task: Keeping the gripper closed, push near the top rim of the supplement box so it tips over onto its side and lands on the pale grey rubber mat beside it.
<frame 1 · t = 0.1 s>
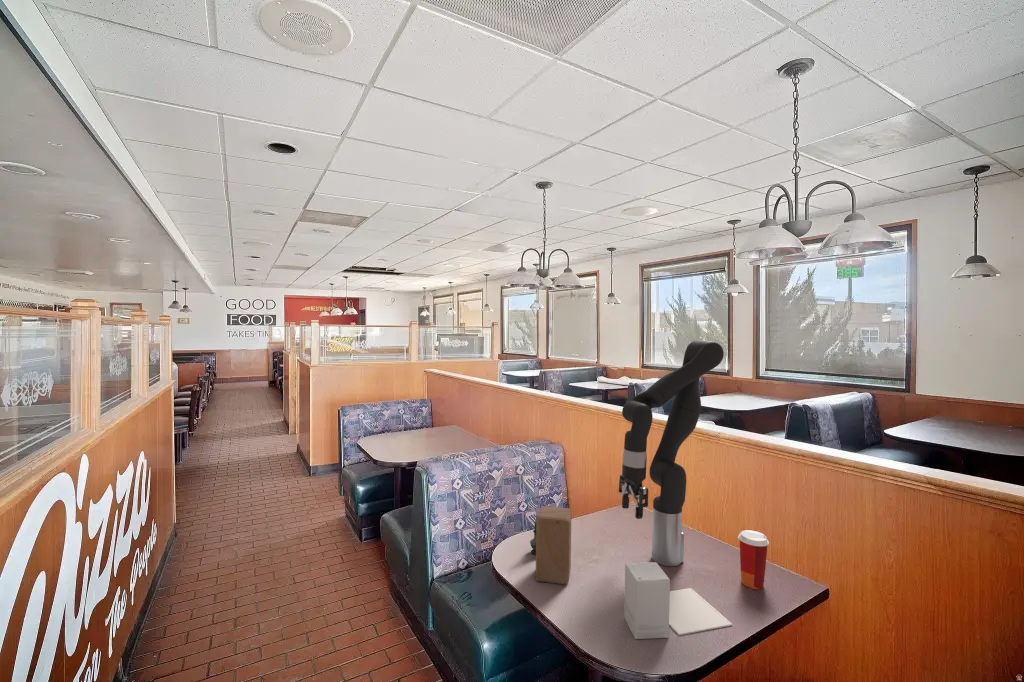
hand: (631, 512, 149), 17 cm above the table, tool pointing down, fingers open, 8 cm apart
supplement box: (645, 628, 119), on the table
mat: (685, 610, 126), on the table
wooden block: (553, 576, 143), on the table
salt shaker: (538, 553, 158), on the table
coffee cup: (751, 584, 140), on the table
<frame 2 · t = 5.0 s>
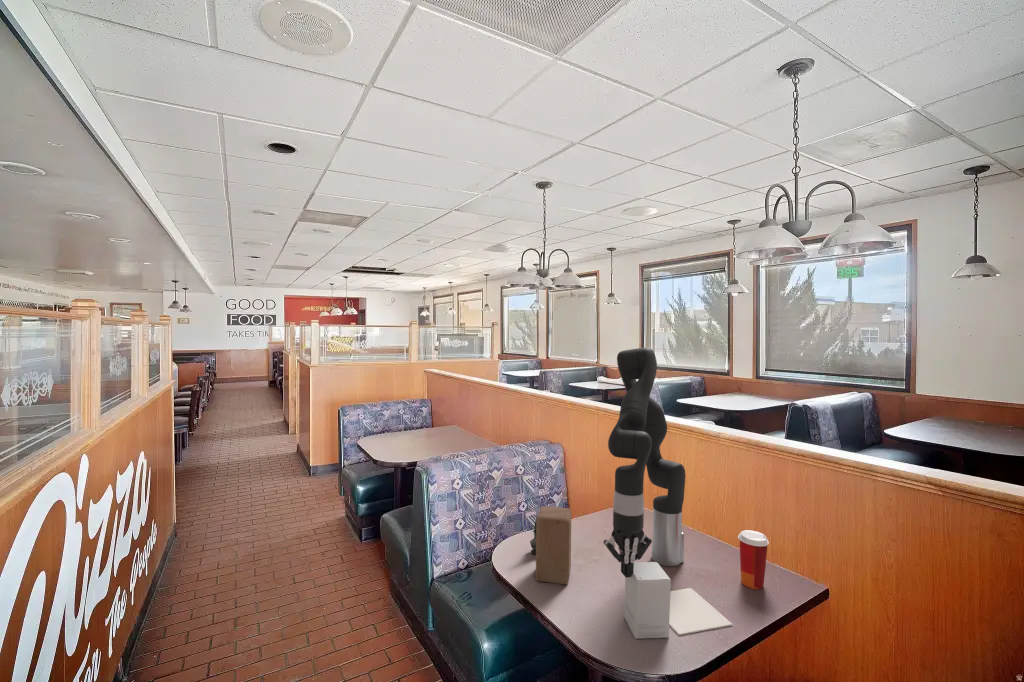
hand: (626, 575, 117), 14 cm above the table, tool pointing down, fingers closed
supplement box: (645, 628, 119), on the table, touching gripper
everything else where it was.
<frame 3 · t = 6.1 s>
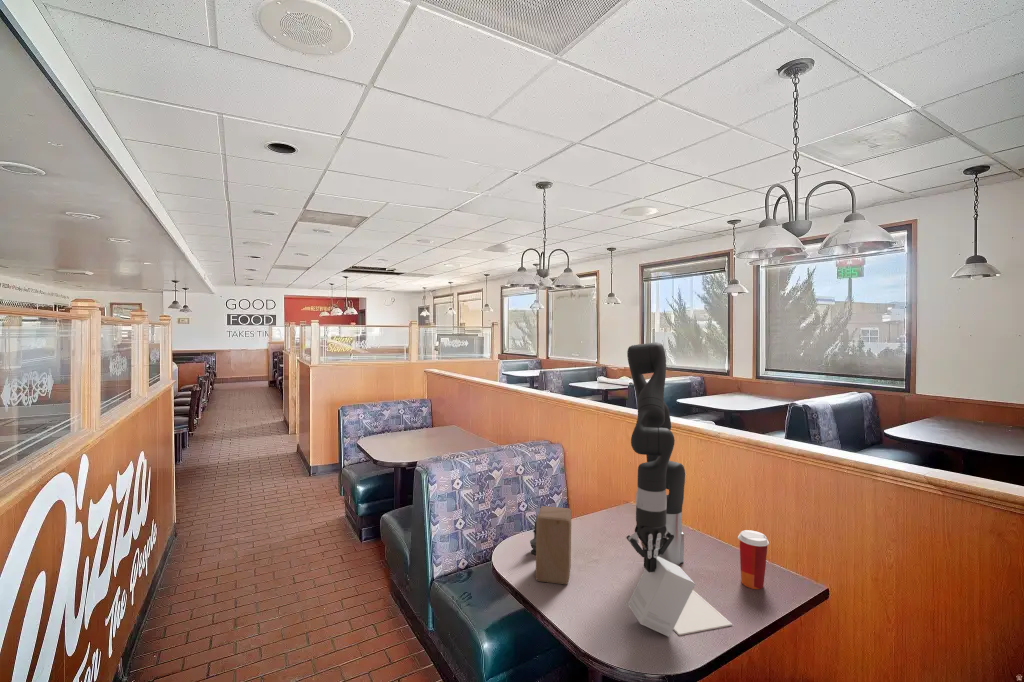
hand: (649, 570, 119), 15 cm above the table, tool pointing down, fingers closed
supplement box: (647, 620, 119), point 2 cm above the table, touching gripper
everything else where it was.
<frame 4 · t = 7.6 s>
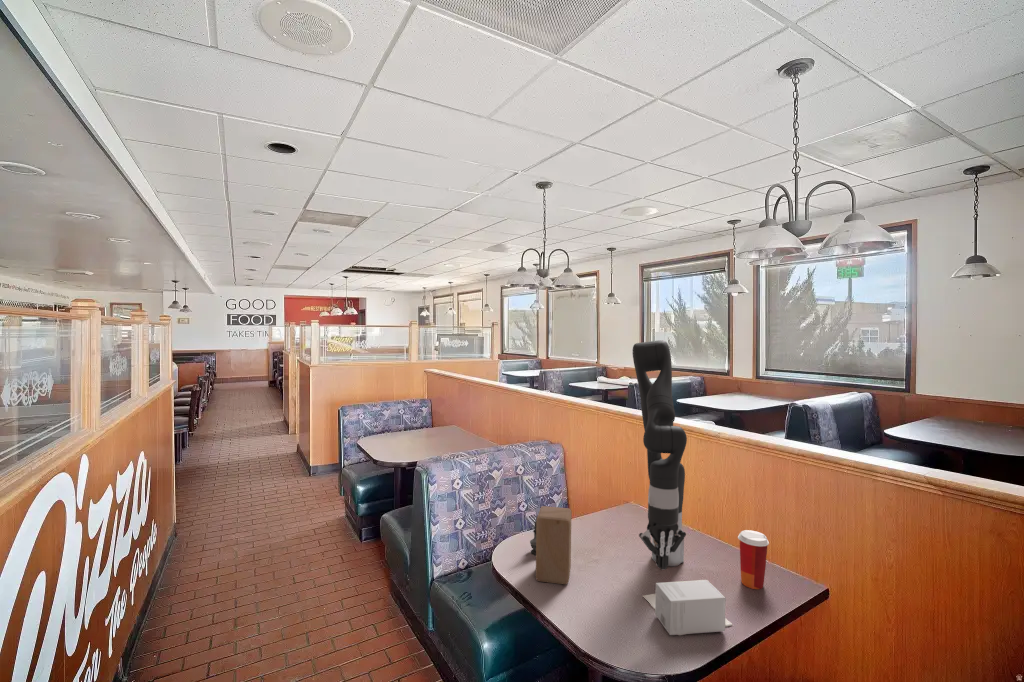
hand: (661, 567, 120), 15 cm above the table, tool pointing down, fingers closed
supplement box: (661, 608, 119), point 5 cm above the table, touching mat
everything else where it was.
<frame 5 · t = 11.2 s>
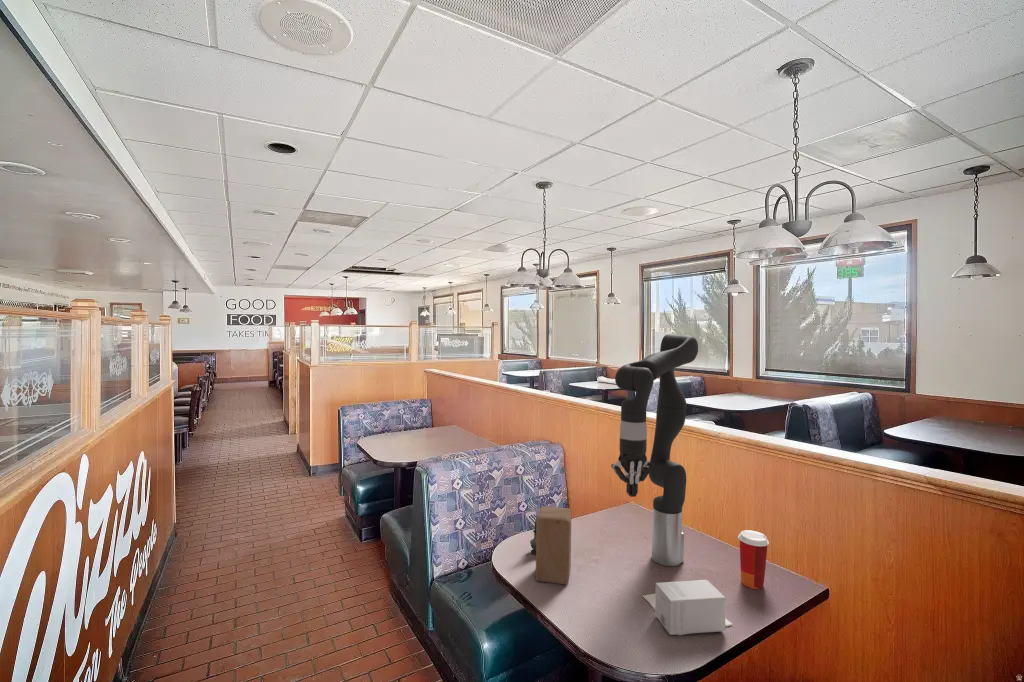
hand: (631, 495, 132), 29 cm above the table, tool pointing down, fingers closed
nothing on the table moved.
at the end: supplement box tilted 90°; supplement box touching mat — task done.
